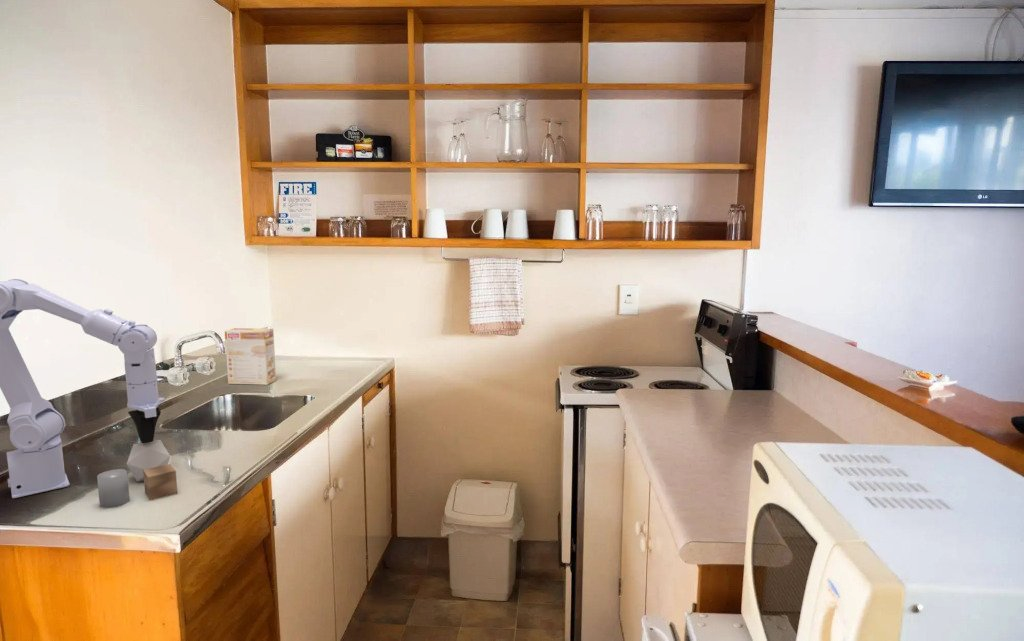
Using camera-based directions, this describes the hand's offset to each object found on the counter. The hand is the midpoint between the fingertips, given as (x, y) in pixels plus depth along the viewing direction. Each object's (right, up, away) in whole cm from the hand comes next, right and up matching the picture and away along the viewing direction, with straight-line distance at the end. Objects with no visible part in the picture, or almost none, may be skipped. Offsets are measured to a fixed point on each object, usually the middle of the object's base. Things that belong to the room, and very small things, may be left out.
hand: (147, 441), depth 132 cm
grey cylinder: (+1, -10, -12) cm, 15 cm away
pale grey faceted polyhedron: (0, -8, +1) cm, 8 cm away
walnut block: (+7, -9, -7) cm, 14 cm away
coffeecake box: (-14, +4, +86) cm, 88 cm away
